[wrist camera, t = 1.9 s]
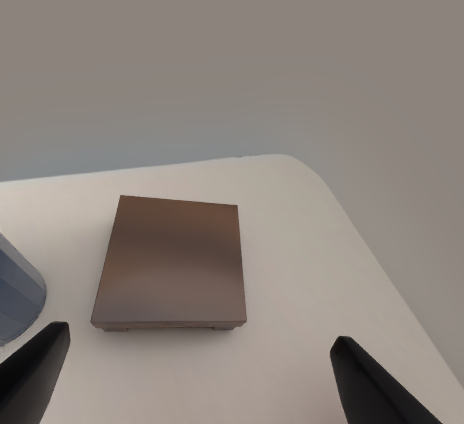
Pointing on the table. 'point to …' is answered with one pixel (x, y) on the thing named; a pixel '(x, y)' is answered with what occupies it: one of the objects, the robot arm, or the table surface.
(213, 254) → the stand
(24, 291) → the tumbler
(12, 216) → the table surface
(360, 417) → the robot arm
